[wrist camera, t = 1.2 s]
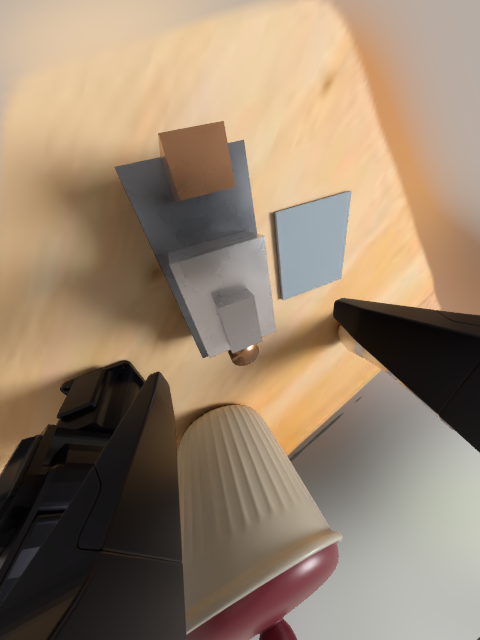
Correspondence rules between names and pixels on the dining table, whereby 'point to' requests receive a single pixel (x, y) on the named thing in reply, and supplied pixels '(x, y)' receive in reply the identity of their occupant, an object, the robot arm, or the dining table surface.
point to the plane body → (192, 201)
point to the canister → (246, 530)
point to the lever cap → (227, 290)
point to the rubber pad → (311, 243)
